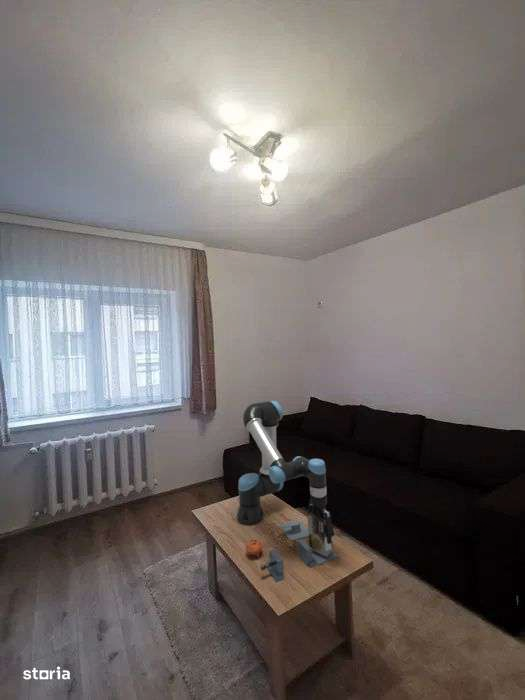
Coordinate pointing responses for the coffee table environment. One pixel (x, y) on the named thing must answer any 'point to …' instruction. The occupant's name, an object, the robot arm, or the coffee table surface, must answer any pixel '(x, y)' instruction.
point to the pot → (254, 547)
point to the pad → (324, 557)
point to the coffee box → (317, 534)
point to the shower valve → (295, 530)
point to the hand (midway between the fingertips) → (320, 542)
